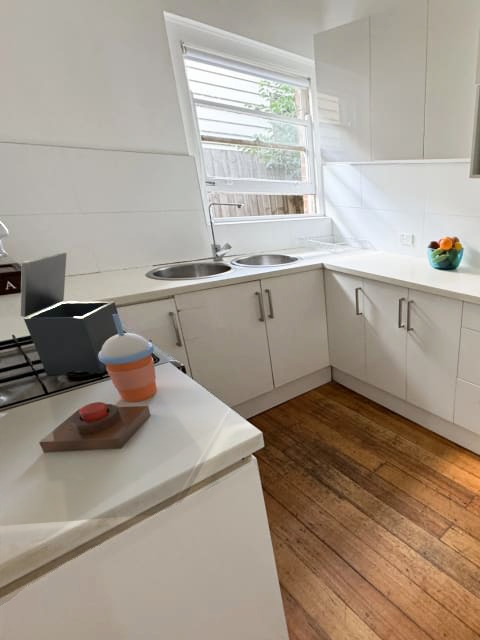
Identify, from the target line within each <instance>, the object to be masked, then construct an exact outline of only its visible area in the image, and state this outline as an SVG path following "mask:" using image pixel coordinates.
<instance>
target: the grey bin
mask: <svg viewBox="0 0 480 640" xmlns="http://www.w3.org/2000/svg"><path fill="white" fill-rule="evenodd" d="M113 314H118V315H119V312H118V309H117V305H116V303H115V301H62V302H60V303H57V304H55V305H52V306H50V307H48V308H45V309H43V310H41V311H38V312H36V313H33V314H31V315H29V316H26V317H23V320H24V324H25V325H26V328H27V331H28V333H29V335H30V338H31V340H32V343H33V345H34V347H35V350H36V352H37V355H38V357H39V360H40V363H41V365H42V367H43V369H44V372H45V375H46V376H68V375H69V376H70V375H75V374H67V373H68V372H71V371H84V372H89V373H90V374H89V375H101V374H103V373H105V372H106V371H107V369H106V365H105V364H104V363H102V362H100V360H99V358H98V354H99V352H100V351H101V350H102V346H103V344H104V343H105V342H106V341H107V340H108V339H109V338H111V337H113V336H115V335H118V331H117V328H116V325H115V321H114V318H113ZM93 373H94V374H93ZM95 373H97V374H95Z"/></svg>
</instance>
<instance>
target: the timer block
mask: <svg viewBox="0 0 480 640" xmlns="http://www.w3.org/2000/svg"><path fill="white" fill-rule="evenodd" d="M105 405H106V408H107V411H108V413H107V414H106V415H105V416H103V417H101V418H99V419H96V420H92V421H83V420H82V418H81V415H80V413H79V410H80V409H81V408H82V407H80V408H79V409H78V410H76V411H75V412H74V413H72V414H71V415H70V416H68V417H67V419H65V420H64V421H63V422H62V423H60V424H59V425H58V426H56V428H54V429H53V430H51V432H49V433H48V434H46V435H45V436H44V437H43V438H42V439H40V441H38V443H39V445H40V448H41V450H42V452H43V453H61V452H81V451H82V452H83V451H100V450H101V451H102V450H118V449H119V450H121V449H122V448H123V447H124V446H125V445H126V444H127V443H128V441H130V439H131V438H132V437H133V436H134V435H135V434H136V433H137V432H138V430H140V428H141V427H142V426H143V425H144V423H146V421H147V420H148V419H149V418H150V417H151V411H150V408H149V405H134V406H133V405H131V406H118V405H116V404H112V403H105Z"/></svg>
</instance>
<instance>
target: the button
mask: <svg viewBox="0 0 480 640" xmlns="http://www.w3.org/2000/svg"><path fill="white" fill-rule="evenodd" d="M105 404H106V403H105V402H102V401H96V402H91V403H88V404H85V405H84V406H82V407H80V408H81V409H80V408H79V409H80V410H79V409H78V410H79V413H80V415H81V418H82V420H83V421H92V420H96V419H99V418H101V417H103V416H105V415H106V414H107V413H108V411H107V408H106V405H105Z"/></svg>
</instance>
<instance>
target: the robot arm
mask: <svg viewBox="0 0 480 640" xmlns="http://www.w3.org/2000/svg"><path fill="white" fill-rule="evenodd" d="M9 236H10V233H9V230H8V228H7V227H6V226H5V225H4V224H3V222H1V221H0V260H6V259H7V258H8V257H10V255H9V253H8V252H7V251H6V250H5V249H4V245H3V243H2V241H3V240H5V239H6V238H8V237H9Z"/></svg>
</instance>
